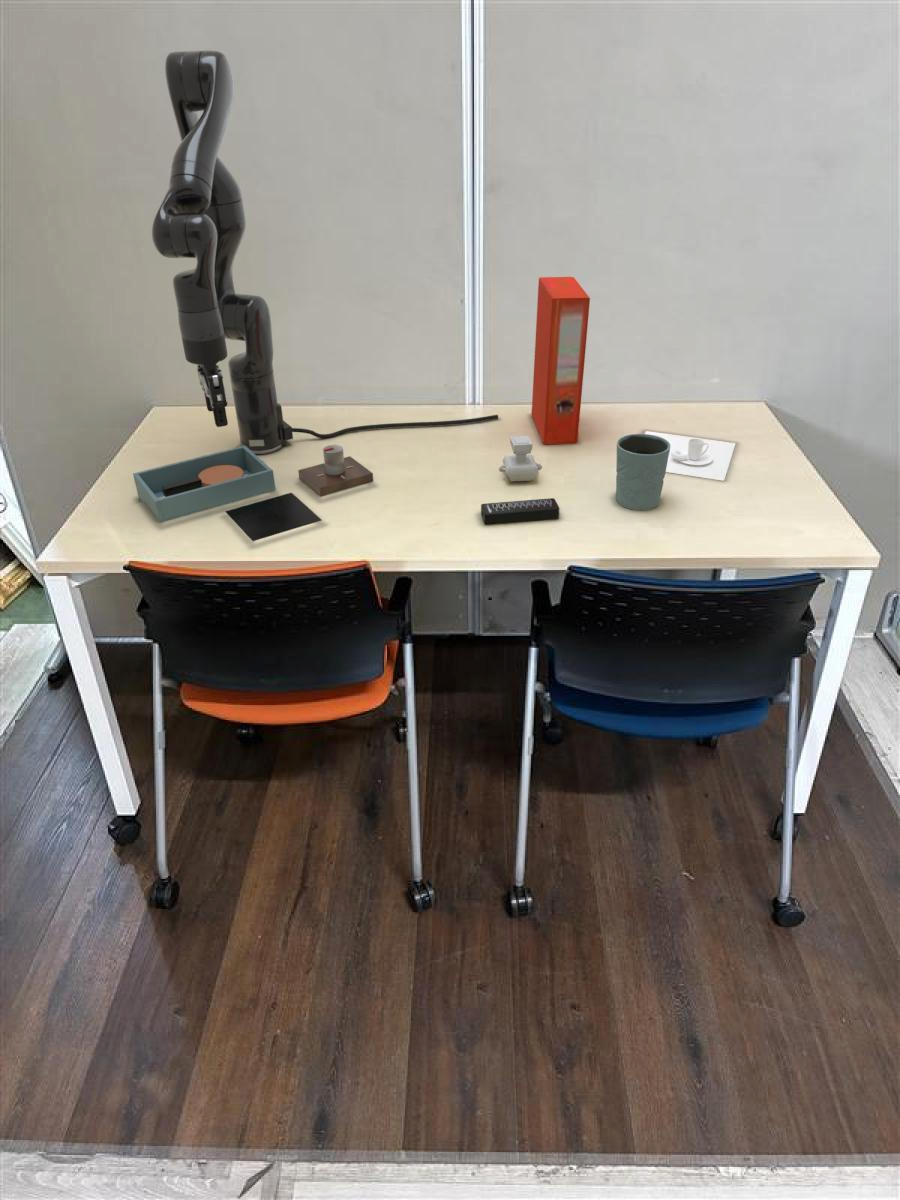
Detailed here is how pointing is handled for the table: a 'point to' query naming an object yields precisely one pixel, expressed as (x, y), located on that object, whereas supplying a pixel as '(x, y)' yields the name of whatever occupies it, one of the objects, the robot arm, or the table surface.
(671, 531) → the table surface
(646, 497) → the green cup
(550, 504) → the multiport hub
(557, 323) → the file binder
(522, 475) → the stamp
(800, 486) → the table surface
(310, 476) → the rotary knob panel
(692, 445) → the teacup and saucer
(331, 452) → the tap dial
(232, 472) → the pan
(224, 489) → the basin
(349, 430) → the robot arm
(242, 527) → the plate
